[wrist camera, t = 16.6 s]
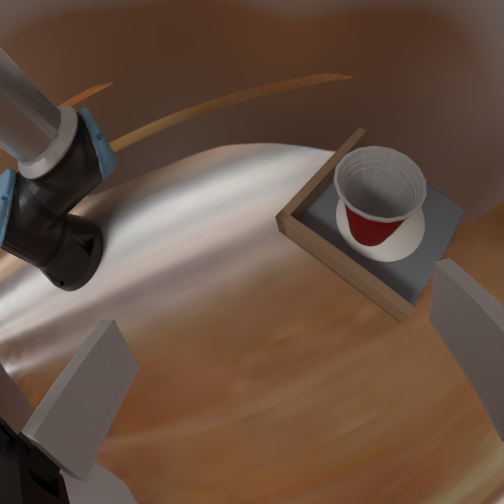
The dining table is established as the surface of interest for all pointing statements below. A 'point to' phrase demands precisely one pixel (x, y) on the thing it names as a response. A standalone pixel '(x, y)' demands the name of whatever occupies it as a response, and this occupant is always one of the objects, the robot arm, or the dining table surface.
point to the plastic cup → (378, 191)
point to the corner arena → (375, 257)
